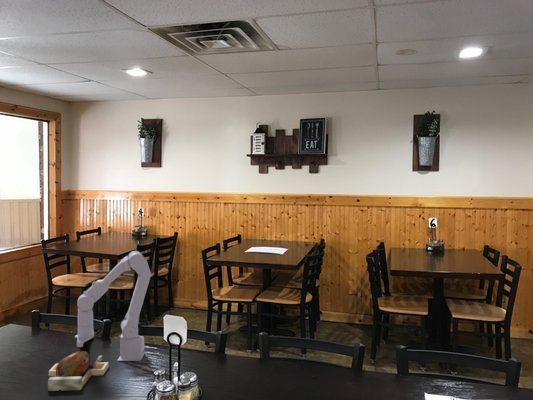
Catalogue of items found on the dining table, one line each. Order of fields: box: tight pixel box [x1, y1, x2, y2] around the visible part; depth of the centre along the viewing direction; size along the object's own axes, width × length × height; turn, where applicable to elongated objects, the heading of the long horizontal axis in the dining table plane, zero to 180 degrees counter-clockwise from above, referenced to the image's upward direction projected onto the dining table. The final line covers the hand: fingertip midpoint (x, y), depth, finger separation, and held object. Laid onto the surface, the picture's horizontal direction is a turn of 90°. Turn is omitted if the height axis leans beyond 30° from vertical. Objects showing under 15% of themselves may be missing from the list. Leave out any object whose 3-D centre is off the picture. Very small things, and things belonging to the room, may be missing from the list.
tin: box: [55, 350, 91, 377], centre depth 162 cm, size 15×3×8 cm, turn 161°
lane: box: [47, 354, 103, 392], centre depth 164 cm, size 11×26×4 cm, turn 4°
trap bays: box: [48, 361, 110, 377], centre depth 166 cm, size 20×7×2 cm, turn 94°
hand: (85, 357), depth 174 cm, fingers closed
